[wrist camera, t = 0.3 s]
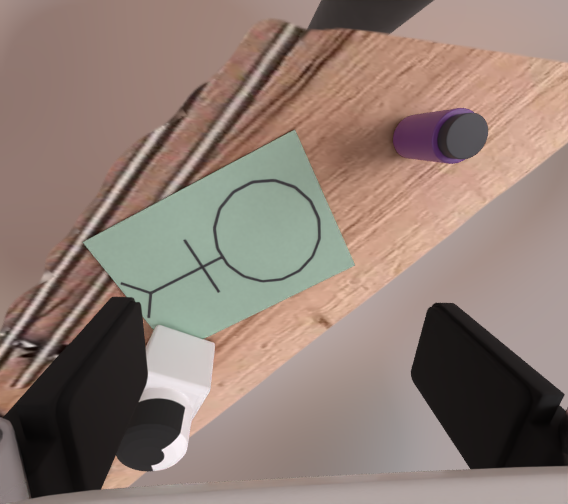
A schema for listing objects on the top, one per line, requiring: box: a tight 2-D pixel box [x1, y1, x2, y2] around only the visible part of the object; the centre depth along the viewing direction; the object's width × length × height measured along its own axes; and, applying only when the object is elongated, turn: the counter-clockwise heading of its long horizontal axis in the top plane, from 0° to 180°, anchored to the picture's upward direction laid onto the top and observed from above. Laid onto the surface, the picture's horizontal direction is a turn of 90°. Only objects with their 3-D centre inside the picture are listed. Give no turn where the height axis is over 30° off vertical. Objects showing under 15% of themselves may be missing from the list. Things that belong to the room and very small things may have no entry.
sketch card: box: [83, 130, 355, 339], centre depth 33 cm, size 24×16×1 cm, turn 116°
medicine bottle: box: [116, 325, 215, 471], centre depth 31 cm, size 7×7×12 cm
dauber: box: [393, 108, 488, 164], centre depth 26 cm, size 4×4×9 cm
